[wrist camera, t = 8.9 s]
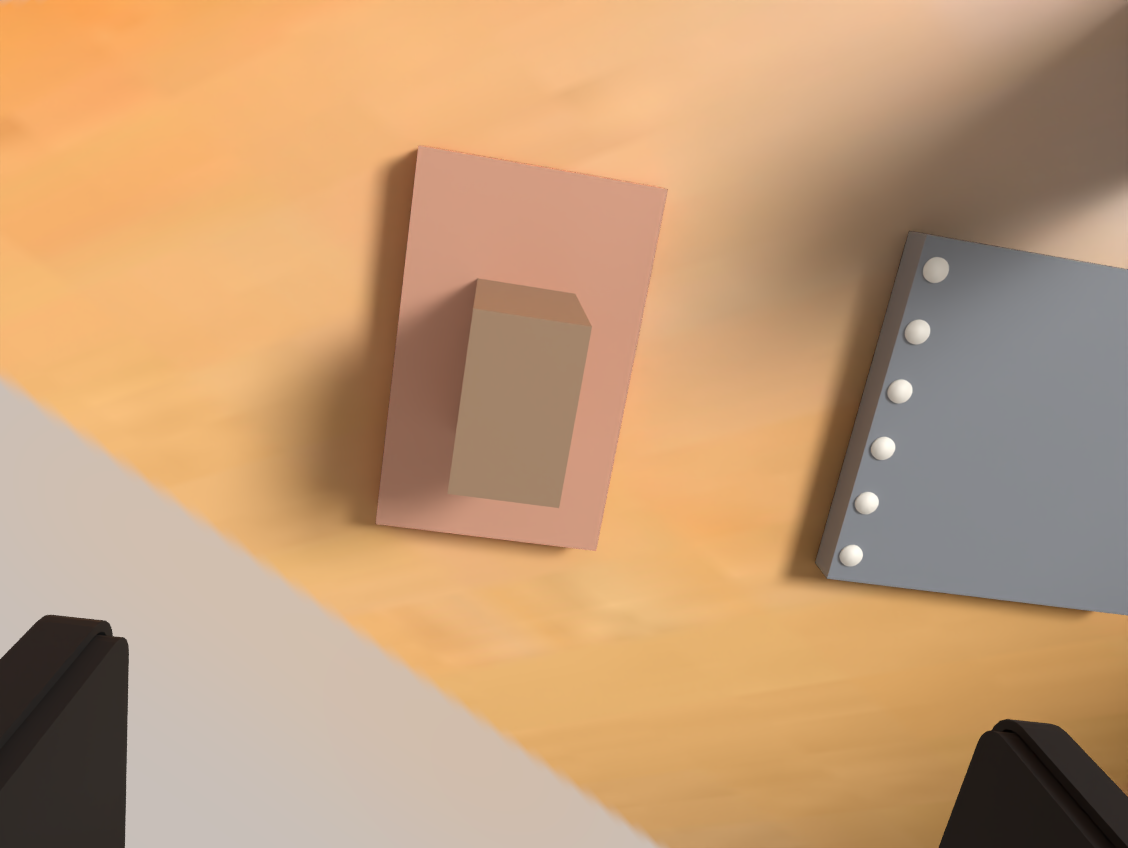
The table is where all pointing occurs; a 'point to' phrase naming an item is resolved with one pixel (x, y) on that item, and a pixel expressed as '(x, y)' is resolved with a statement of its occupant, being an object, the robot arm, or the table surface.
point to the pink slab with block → (514, 347)
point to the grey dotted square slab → (991, 433)
